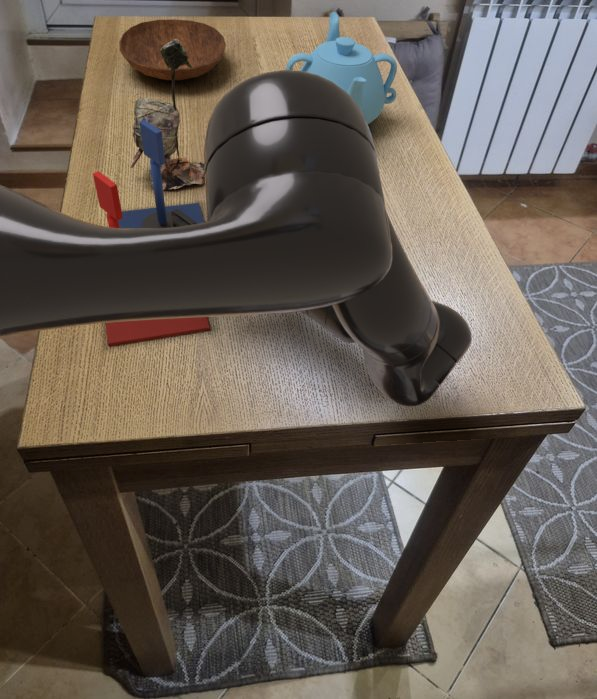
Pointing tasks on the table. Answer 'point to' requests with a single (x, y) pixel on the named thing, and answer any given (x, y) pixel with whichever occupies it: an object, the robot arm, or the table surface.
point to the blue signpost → (155, 174)
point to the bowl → (151, 36)
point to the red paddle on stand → (108, 198)
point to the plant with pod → (167, 126)
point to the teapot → (351, 70)
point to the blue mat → (137, 216)
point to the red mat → (153, 329)
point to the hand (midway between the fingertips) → (202, 201)
